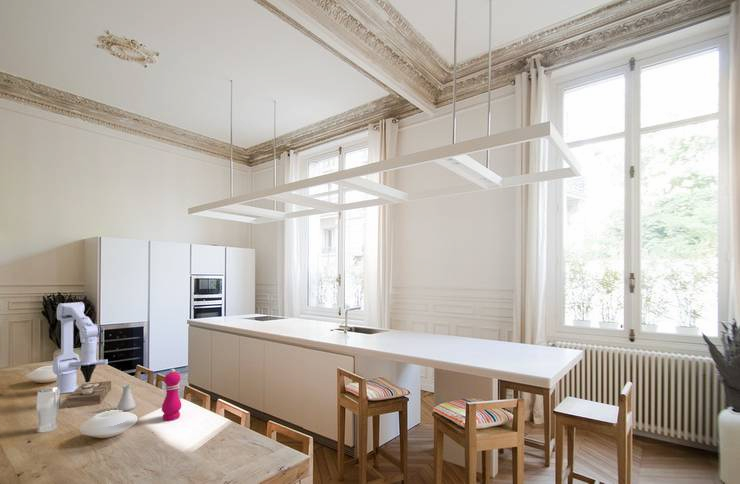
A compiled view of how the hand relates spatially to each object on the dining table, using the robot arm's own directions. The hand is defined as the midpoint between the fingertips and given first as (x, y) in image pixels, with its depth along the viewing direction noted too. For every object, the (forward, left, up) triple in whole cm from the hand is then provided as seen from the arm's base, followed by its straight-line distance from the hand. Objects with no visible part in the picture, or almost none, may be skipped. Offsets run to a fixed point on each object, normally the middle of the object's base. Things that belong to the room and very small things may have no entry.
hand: (87, 381), depth 174 cm
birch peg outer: (0, 0, -6) cm, 6 cm away
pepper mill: (+35, +37, -9) cm, 52 cm away
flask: (+16, +18, -10) cm, 26 cm away
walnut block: (-6, 0, -9) cm, 11 cm away
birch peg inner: (-12, 0, -9) cm, 15 cm away
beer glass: (+28, -6, -9) cm, 30 cm away
